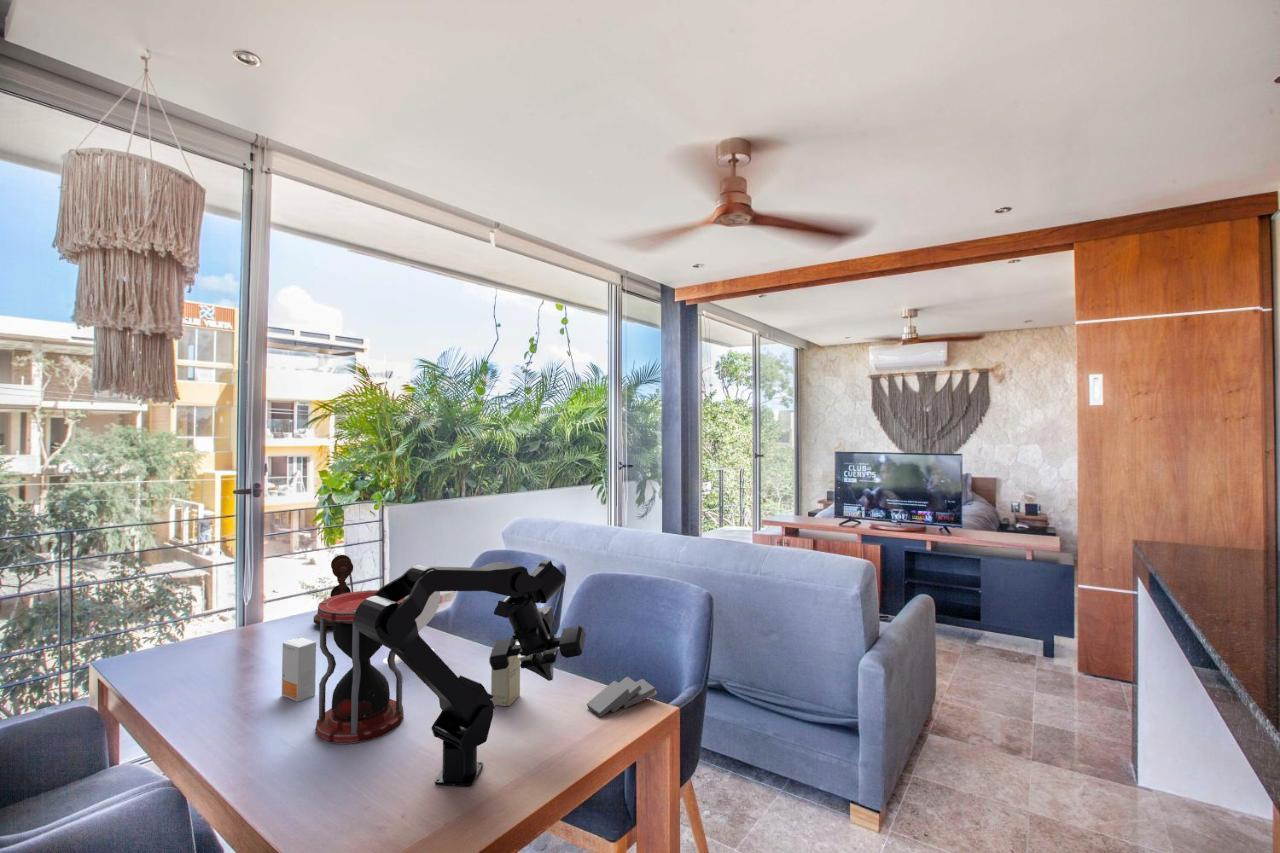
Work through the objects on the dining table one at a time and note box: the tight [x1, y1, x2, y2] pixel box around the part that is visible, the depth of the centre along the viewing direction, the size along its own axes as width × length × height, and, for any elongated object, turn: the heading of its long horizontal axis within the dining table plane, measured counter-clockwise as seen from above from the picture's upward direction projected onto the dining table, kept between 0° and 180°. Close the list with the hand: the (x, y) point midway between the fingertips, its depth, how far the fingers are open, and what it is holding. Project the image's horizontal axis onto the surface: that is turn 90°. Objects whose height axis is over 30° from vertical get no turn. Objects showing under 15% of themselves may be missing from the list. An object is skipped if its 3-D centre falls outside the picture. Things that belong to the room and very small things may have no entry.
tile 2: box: [609, 676, 641, 713], centre depth 132 cm, size 1×5×8 cm
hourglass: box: [315, 589, 405, 745], centre depth 122 cm, size 16×16×25 cm
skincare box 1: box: [281, 637, 317, 702], centre depth 134 cm, size 6×4×12 cm
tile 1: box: [586, 680, 629, 718], centre depth 130 cm, size 1×5×8 cm
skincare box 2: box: [490, 640, 521, 707], centre depth 133 cm, size 6×4×12 cm
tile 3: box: [621, 678, 656, 709], centre depth 134 cm, size 1×5×8 cm
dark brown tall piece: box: [313, 554, 354, 627], centre depth 183 cm, size 15×15×20 cm
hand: (551, 678), depth 122 cm, fingers closed
